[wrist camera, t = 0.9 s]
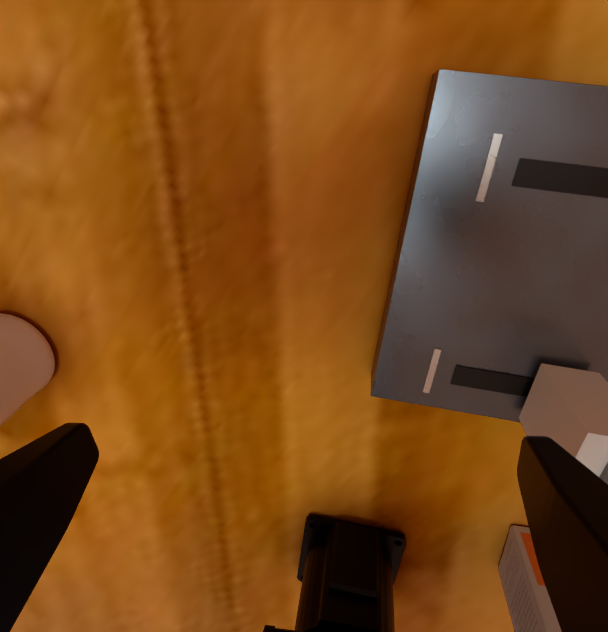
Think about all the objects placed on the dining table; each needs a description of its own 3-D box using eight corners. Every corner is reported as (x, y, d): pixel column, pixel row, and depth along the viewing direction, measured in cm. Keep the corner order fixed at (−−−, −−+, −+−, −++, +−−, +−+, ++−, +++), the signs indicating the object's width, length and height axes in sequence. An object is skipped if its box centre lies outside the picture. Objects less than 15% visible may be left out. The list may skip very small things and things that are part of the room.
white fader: (572, 427, 19) (627, 513, 15) (518, 417, 20) (557, 500, 15) (599, 372, 18) (667, 450, 14) (541, 363, 18) (591, 436, 14)
